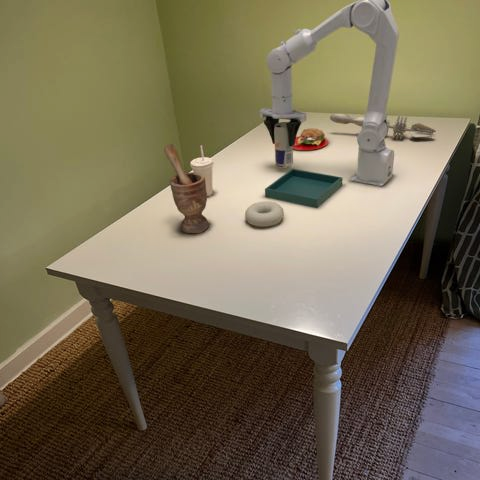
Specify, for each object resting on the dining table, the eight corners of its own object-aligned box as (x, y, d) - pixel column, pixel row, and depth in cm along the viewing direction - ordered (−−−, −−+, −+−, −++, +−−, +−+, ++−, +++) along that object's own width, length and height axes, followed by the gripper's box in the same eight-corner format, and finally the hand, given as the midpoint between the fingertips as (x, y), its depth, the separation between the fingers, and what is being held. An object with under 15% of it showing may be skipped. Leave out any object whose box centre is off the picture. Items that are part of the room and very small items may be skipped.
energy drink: (274, 162, 149) (272, 123, 142) (291, 160, 149) (290, 120, 142) (276, 169, 145) (275, 128, 137) (294, 167, 145) (293, 126, 138)
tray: (342, 185, 136) (342, 177, 134) (316, 208, 127) (317, 199, 125) (292, 176, 144) (292, 168, 142) (265, 196, 135) (264, 188, 133)
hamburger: (294, 135, 171) (294, 117, 167) (333, 137, 165) (333, 119, 162) (280, 149, 161) (279, 131, 157) (320, 152, 156) (321, 134, 152)
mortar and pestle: (163, 228, 126) (146, 153, 113) (183, 214, 131) (170, 140, 118) (198, 237, 120) (185, 159, 107) (217, 222, 125) (207, 146, 113)
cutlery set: (334, 105, 167) (330, 103, 160) (439, 121, 156) (438, 119, 149) (329, 130, 170) (324, 128, 163) (431, 146, 159) (431, 145, 152)
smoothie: (214, 198, 136) (207, 150, 128) (192, 198, 138) (184, 150, 129) (219, 189, 141) (213, 141, 132) (198, 189, 143) (191, 141, 134)
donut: (238, 218, 126) (257, 233, 119) (237, 206, 124) (256, 220, 117) (271, 207, 129) (291, 221, 122) (270, 195, 127) (291, 208, 120)
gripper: (252, 97, 136) (255, 145, 144) (297, 101, 129) (298, 151, 137) (265, 90, 140) (268, 137, 149) (310, 94, 133) (310, 143, 141)
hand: (283, 144), depth 143 cm, fingers closed on energy drink, 5 cm apart
